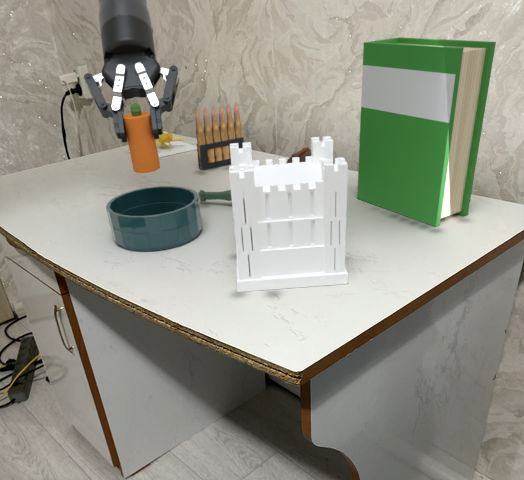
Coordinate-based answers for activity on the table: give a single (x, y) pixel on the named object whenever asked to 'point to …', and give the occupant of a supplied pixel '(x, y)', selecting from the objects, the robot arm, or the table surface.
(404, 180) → the hardback book
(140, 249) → the bowl
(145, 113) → the carrot toy
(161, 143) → the character toy
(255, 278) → the castle model
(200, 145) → the ammunition clip
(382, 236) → the table surface
